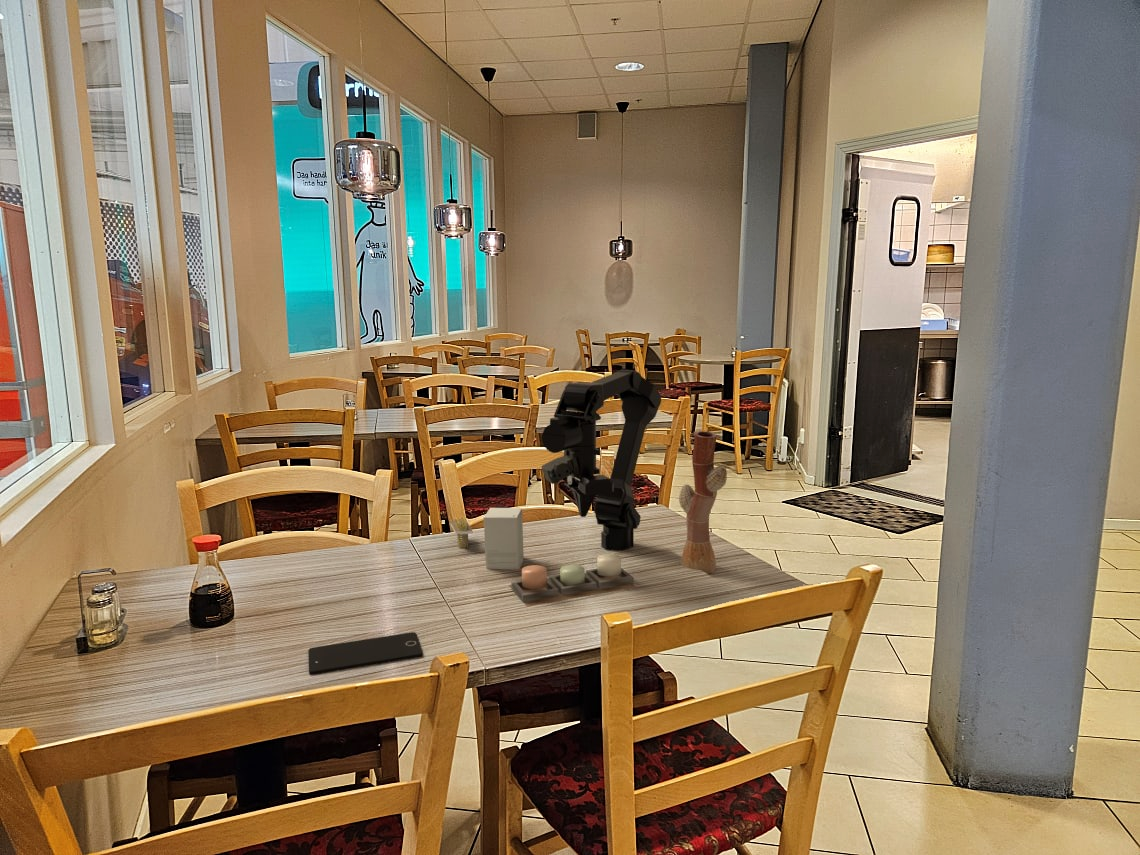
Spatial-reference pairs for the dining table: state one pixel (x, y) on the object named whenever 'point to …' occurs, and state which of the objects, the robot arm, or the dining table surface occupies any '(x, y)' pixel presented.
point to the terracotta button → (534, 577)
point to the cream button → (609, 565)
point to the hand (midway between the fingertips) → (582, 516)
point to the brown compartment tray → (572, 588)
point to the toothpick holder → (462, 531)
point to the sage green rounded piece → (572, 575)
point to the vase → (701, 503)
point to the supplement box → (503, 538)
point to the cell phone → (363, 653)
